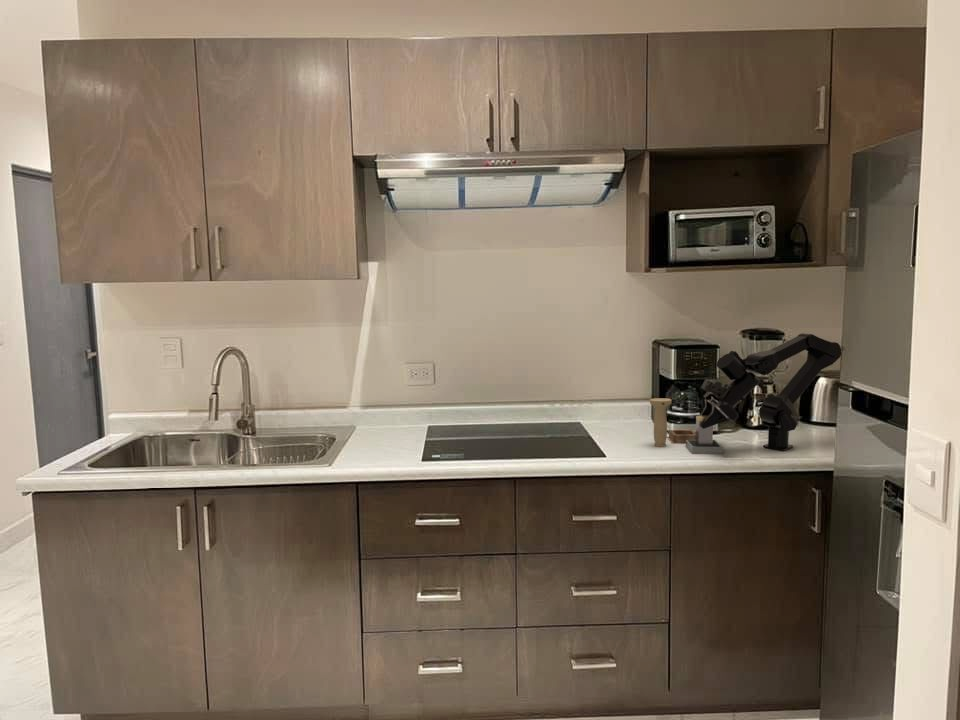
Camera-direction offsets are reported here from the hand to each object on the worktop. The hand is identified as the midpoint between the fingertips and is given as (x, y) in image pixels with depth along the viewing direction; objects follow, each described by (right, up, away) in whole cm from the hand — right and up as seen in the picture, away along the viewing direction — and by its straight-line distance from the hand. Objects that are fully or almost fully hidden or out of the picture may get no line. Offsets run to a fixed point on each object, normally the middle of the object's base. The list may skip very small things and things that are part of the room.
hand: (699, 425), depth 201 cm
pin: (+2, -7, +1) cm, 8 cm away
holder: (-1, -6, +13) cm, 15 cm away
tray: (+2, -8, +1) cm, 8 cm away
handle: (-10, -8, +7) cm, 14 cm away
